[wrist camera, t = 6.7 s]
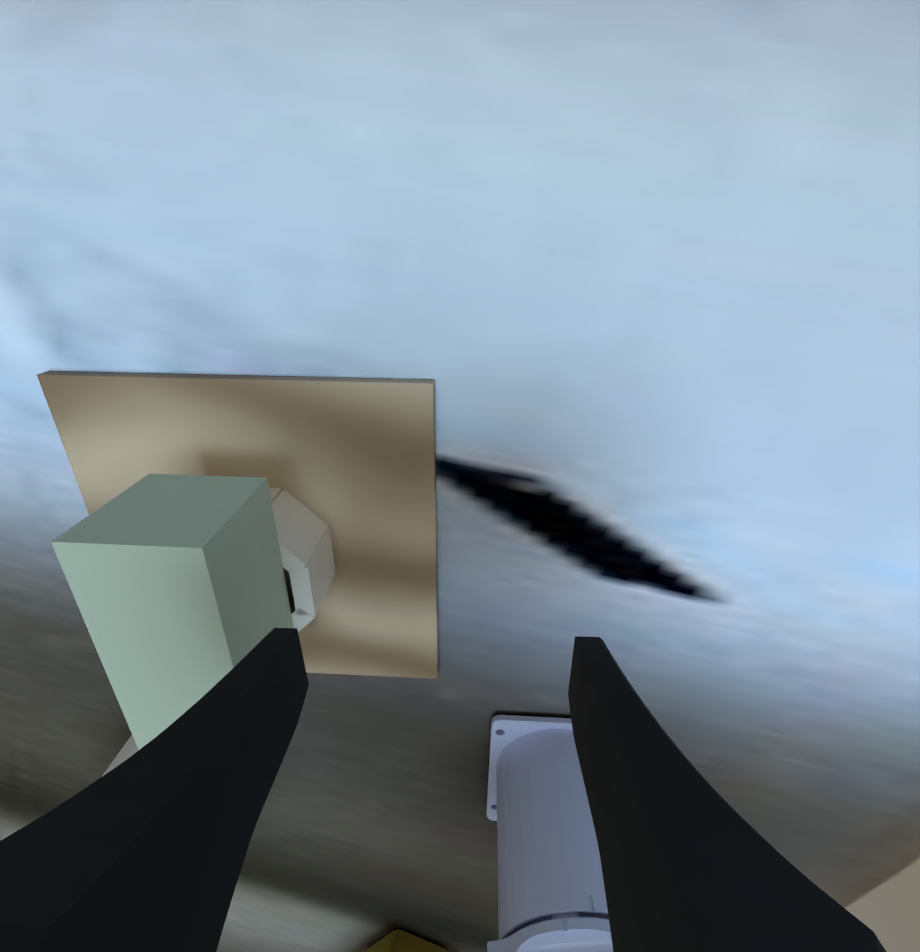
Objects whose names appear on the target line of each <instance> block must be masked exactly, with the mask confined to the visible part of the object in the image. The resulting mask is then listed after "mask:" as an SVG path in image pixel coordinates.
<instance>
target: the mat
mask: <svg viewBox="0 0 920 952" xmlns="http://www.w3.org/2000/svg"><path fill="white" fill-rule="evenodd" d="M37 376H38V379H39V382H40V384H41V387H42V390H43V392H44V395H45V398H46V400H47V403H48V406H49V408H50V411H51V414H52V416H53V419H54V422H55V424H56V427H57V430H58V432H59V435H60V438H61V440H62V443H63V446H64V449H65V451H66V454H67V457H68V459H69V462H70V465H71V467H72V470H73V473H74V475H75V478H76V481H77V483H78V486H79V489H80V491H81V494H82V497H83V499H84V502H85V505H86V507H87V510H88V513H89V515H90V514H92V513H93V512H95V511H96V510H98V509H99V508H101V507H102V506H103V505H105V504H106V503H108V502H109V501H111V500H112V499H113V498H115V497H116V496H118V495H119V494H121V493H122V492H124V491H125V490H126V489H128V488H129V487H131V486H132V485H134V484H135V483H136V482H138V481H139V480H141V479H142V478H144V477H145V476H147V475H148V474H178V475H206V476H235V477H264V478H267V480H268V486H269V488H281V491H283V490H284V489H285V490H286V491H287V492H288V493H289V494H291V495H292V496H293V497H294V498H296V499H297V500H298V501H299V502H301V503H302V504H303V505H304V506H305V507H307V508H308V509H309V510H310V511H312V512H313V513H314V514H315V515H317V516H318V517H319V518H320V519H322V520H323V521H324V522H325V523H326V524H328V526H327V527H330V534H331V542H332V549H333V557H334V565H335V575H334V577H333V579H332V581H331V583H330V585H329V588H328V590H327V592H326V594H325V596H324V599H323V601H322V603H321V605H320V607H319V610H318V612H317V614H316V616H315V618H314V619H313V620H312V621H311V622H310V623H308V624H307V625H306V626H305V627H304V628H302V629H301V630H300V631H299V632H298V634H299V639H300V644H301V649H302V654H303V659H304V664H305V669H306V672H307V673H327V674H348V675H369V676H390V677H410V678H431V679H438V670H439V667H438V596H437V526H436V455H435V385H434V380H427V379H382V378H337V377H292V376H248V375H203V374H158V373H113V372H68V371H48V372H44V373H41V374H38V375H37Z"/></svg>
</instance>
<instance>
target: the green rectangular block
mask: <svg viewBox="0 0 920 952" xmlns="http://www.w3.org/2000/svg"><path fill="white" fill-rule="evenodd" d="M51 543H52V545H53V548H54V550H55V552H56V555H57V557H58V560H59V562H60V564H61V567H62V569H63V571H64V574H65V576H66V579H67V581H68V583H69V586H70V588H71V590H72V593H73V595H74V598H75V600H76V602H77V605H78V607H79V609H80V612H81V614H82V617H83V619H84V621H85V624H86V626H87V628H88V631H89V633H90V636H91V638H92V640H93V643H94V645H95V647H96V650H97V652H98V654H99V657H100V659H101V662H102V664H103V666H104V669H105V671H106V673H107V676H108V678H109V681H110V683H111V685H112V688H113V690H114V692H115V695H116V697H117V700H118V702H119V704H120V707H121V709H122V711H123V714H124V716H125V719H126V721H127V723H128V726H129V728H130V730H131V733H132V735H133V738H134V740H135V742H136V745H137V747H138V749H139V750H140V749H141V748H142V747H144V746H145V745H146V744H148V743H149V742H150V741H152V740H153V739H154V738H155V737H157V736H158V735H159V734H160V733H161V732H163V731H164V730H165V729H166V728H168V727H169V726H170V725H171V724H172V723H173V722H175V721H176V720H177V719H178V718H179V717H180V716H181V715H183V714H184V713H185V712H186V711H187V710H188V709H189V708H191V707H192V706H193V705H194V704H195V703H196V702H197V701H199V700H200V699H201V698H202V697H203V696H204V695H205V694H206V693H207V692H208V691H210V690H211V689H212V688H213V687H214V686H215V685H216V684H217V683H218V682H219V681H220V680H221V679H222V678H223V677H224V676H225V675H226V674H227V673H229V672H230V671H231V670H232V669H233V668H234V667H235V666H236V665H237V664H238V663H239V662H240V661H241V660H242V659H243V658H244V657H245V656H246V655H247V654H248V653H249V652H250V651H251V650H252V649H253V648H254V647H255V646H256V645H257V644H258V643H259V642H260V641H261V640H262V639H263V638H264V637H265V636H266V635H267V634H268V633H269V632H271V631H272V630H273V629H274V628H294V626H293V620H292V615H291V609H290V603H289V598H288V592H287V587H286V581H285V575H284V570H283V564H282V558H281V553H280V547H279V542H278V536H277V530H276V525H275V519H274V514H273V508H272V502H271V497H270V491H269V486H268V480H267V478H264V477H235V476H206V475H178V474H148V475H147V476H145V477H144V478H142V479H141V480H139V481H138V482H136V483H135V484H134V485H132V486H131V487H129V488H128V489H126V490H125V491H124V492H122V493H121V494H119V495H118V496H116V497H115V498H113V499H112V500H111V501H109V502H108V503H106V504H105V505H103V506H102V507H101V508H99V509H98V510H96V511H95V512H93V513H92V514H90V515H89V516H88V517H86V518H85V519H83V520H82V521H80V522H79V523H78V524H76V525H75V526H73V527H72V528H70V529H69V530H67V531H66V532H65V533H63V534H62V535H60V536H59V537H57V538H56V539H55V540H53V541H52V542H51Z"/></svg>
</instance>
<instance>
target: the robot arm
mask: <svg viewBox="0 0 920 952" xmlns="http://www.w3.org/2000/svg"><path fill="white" fill-rule="evenodd" d="M308 685H309V683H308V678H307V674H306V669H305V664H304V659H303V654H302V649H301V644H300V639H299V634H298V630H297V628H274V629H273V630H272V631H271V632H269V633H268V634H267V635H266V636H265V637H264V638H263V639H262V640H261V641H260V642H259V643H258V644H257V645H256V646H255V647H254V648H253V649H252V650H251V651H250V652H249V653H248V654H247V655H246V656H245V657H244V658H243V659H242V660H241V661H240V662H239V663H238V664H237V665H236V666H235V667H234V668H233V669H232V670H231V671H230V672H229V673H227V674H226V675H225V676H224V677H223V678H222V679H221V680H220V681H219V682H218V683H217V684H216V685H215V686H214V687H213V688H212V689H211V690H210V691H208V692H207V693H206V694H205V695H204V696H203V697H202V698H201V699H200V700H199V701H197V702H196V703H195V704H194V705H193V706H192V707H191V708H189V709H188V710H187V711H186V712H185V713H184V714H183V715H181V716H180V717H179V718H178V719H177V720H176V721H175V722H173V723H172V724H171V725H170V726H169V727H168V728H166V729H165V730H164V731H163V732H161V733H160V734H159V735H158V736H157V737H155V738H154V739H153V740H152V741H150V742H149V743H148V744H146V745H145V746H144V747H142V748H141V749H140V750H138V751H137V752H136V753H135V754H133V755H132V756H131V757H129V758H128V759H127V760H125V761H124V762H122V763H121V764H120V765H118V766H117V767H115V768H114V769H112V770H111V771H110V772H108V773H107V774H105V775H104V776H102V777H101V778H99V779H98V780H97V781H95V782H94V783H92V784H91V785H89V786H88V787H86V788H85V789H84V790H82V791H81V792H79V793H78V794H76V795H75V796H73V797H72V798H70V799H69V800H67V801H65V802H64V803H62V804H61V805H59V806H58V807H56V808H54V809H53V810H51V811H50V812H48V813H46V814H45V815H43V816H42V817H40V818H38V819H37V820H35V821H33V822H32V823H30V824H28V825H27V826H25V827H23V828H22V829H20V830H18V831H17V832H15V833H13V834H12V835H10V836H8V837H6V838H5V839H3V840H1V841H0V952H216V951H217V947H218V943H219V940H220V936H221V933H222V929H223V926H224V923H225V919H226V916H227V913H228V909H229V906H230V903H231V899H232V896H233V893H234V890H235V886H236V883H237V880H238V877H239V874H240V870H241V867H242V864H243V861H244V858H245V855H246V852H247V849H248V846H249V842H250V839H251V836H252V834H253V831H254V828H255V826H256V823H257V820H258V818H259V815H260V813H261V810H262V808H263V806H264V803H265V801H266V798H267V796H268V794H269V791H270V789H271V786H272V784H273V782H274V779H275V777H276V775H277V772H278V770H279V767H280V765H281V763H282V760H283V758H284V756H285V753H286V751H287V748H288V746H289V743H290V741H291V739H292V736H293V734H294V731H295V729H296V726H297V724H298V720H299V717H300V714H301V710H302V707H303V703H304V700H305V696H306V693H307V689H308ZM568 696H569V704H570V713H571V718H553V717H534V716H514V715H497V716H494V717H493V718H492V721H491V738H490V757H489V775H488V793H487V818H488V819H490V820H493V821H497V850H498V914H499V940H497V941H490V942H488V943H487V952H886V950H885V949H884V948H883V946H882V945H881V943H880V942H879V940H878V938H877V937H876V935H875V933H874V932H873V931H872V930H871V929H869V928H868V927H867V926H866V925H864V924H863V923H862V922H861V921H859V920H858V919H857V918H856V917H854V916H853V915H852V914H851V913H850V912H848V911H847V910H846V909H845V908H843V907H842V906H841V905H840V904H838V903H837V902H836V901H835V900H833V899H832V898H831V897H830V896H828V895H827V894H826V893H825V892H824V891H822V890H821V889H820V888H819V887H817V886H816V885H815V884H814V883H812V882H811V881H810V880H809V879H808V878H807V877H805V876H804V875H803V874H802V873H801V872H800V871H799V870H798V869H796V868H795V867H794V866H793V865H792V864H791V863H790V862H789V861H787V860H786V859H785V858H784V857H783V856H782V855H781V854H780V853H778V852H777V851H776V850H775V849H774V848H773V847H772V846H771V845H770V844H769V843H768V842H767V841H766V840H765V839H764V838H763V837H762V836H761V835H760V834H759V833H758V832H756V831H755V830H754V829H753V828H752V827H751V826H750V825H749V824H748V823H747V822H746V821H745V820H744V819H743V818H742V817H741V816H740V815H739V814H738V813H737V812H736V811H735V810H734V809H733V808H732V807H731V806H730V805H729V804H728V803H727V802H726V801H725V800H724V799H723V798H722V797H721V796H720V795H719V794H718V793H717V792H716V791H715V789H714V788H713V787H712V786H711V785H710V784H709V783H708V782H707V781H706V780H705V779H704V777H703V776H702V775H701V774H700V773H699V772H698V771H697V770H696V769H695V767H694V766H693V765H692V764H691V763H690V762H689V761H688V759H687V758H686V757H685V756H684V755H683V753H682V752H681V751H680V750H679V749H678V747H677V746H676V745H675V744H674V742H673V741H672V740H671V739H670V737H669V736H668V735H667V734H666V732H665V731H664V730H663V729H662V727H661V726H660V725H659V723H658V722H657V721H656V719H655V718H654V717H653V715H652V714H651V713H650V711H649V710H648V709H647V707H646V706H645V704H644V703H643V702H642V700H641V699H640V697H639V696H638V695H637V693H636V692H635V690H634V689H633V687H632V686H631V684H630V683H629V681H628V680H627V678H626V677H625V675H624V674H623V672H622V671H621V669H620V668H619V666H618V665H617V663H616V661H615V660H614V658H613V656H612V655H611V653H610V651H609V650H608V648H607V646H606V645H605V643H604V641H603V640H602V639H601V638H600V637H575V642H574V651H573V659H572V667H571V675H570V683H569V692H568Z"/></svg>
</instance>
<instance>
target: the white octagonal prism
mask: <svg viewBox="0 0 920 952" xmlns="http://www.w3.org/2000/svg"><path fill="white" fill-rule="evenodd" d="M269 491H270V497H271V502H272V508H273V514H274V519H275V525H276V530H277V536H278V542H279V547H280V553H281V558H282V564H283V570H284V575H285V581H286V587H287V592H288V598H289V603H290V609H291V615H292V620H293V626H294V628H297V630H298V632H299V631H300V630H301V629H302V628H304V627H305V626H306V625H307V624H308V623H310V622H311V621H312V620H313V619H314V618H315V616H316V614H317V612H318V610H319V607H320V605H321V603H322V601H323V599H324V596H325V594H326V592H327V590H328V588H329V585H330V583H331V581H332V579H333V577H334V575H335V565H334V557H333V549H332V542H331V534H330V527H327V526H328V524H326V523H325V522H324V521H323V520H322V519H320V518H319V517H318V516H317V515H315V514H314V513H313V512H312V511H310V510H309V509H308V508H307V507H305V506H304V505H303V504H302V503H301V502H299V501H298V500H297V499H296V498H294V497H293V496H292V495H291V494H289V493H288V492H287V491H286V490H285V489H284V490H283V491H281V488H269Z"/></svg>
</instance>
